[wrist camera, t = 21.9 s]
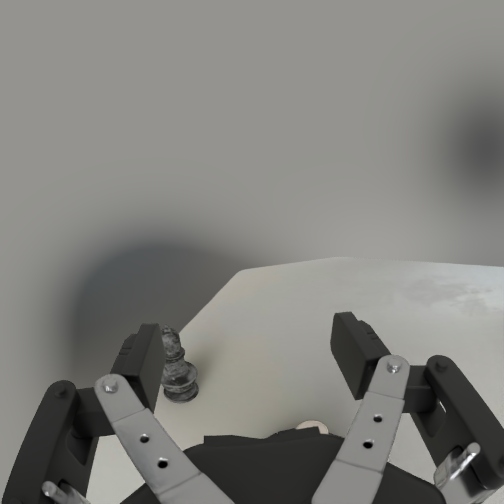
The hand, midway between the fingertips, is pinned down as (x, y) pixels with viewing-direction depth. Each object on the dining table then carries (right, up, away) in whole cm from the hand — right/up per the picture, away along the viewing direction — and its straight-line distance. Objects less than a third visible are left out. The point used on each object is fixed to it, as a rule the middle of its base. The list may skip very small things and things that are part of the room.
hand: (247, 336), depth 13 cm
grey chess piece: (-10, -17, +26) cm, 33 cm away
